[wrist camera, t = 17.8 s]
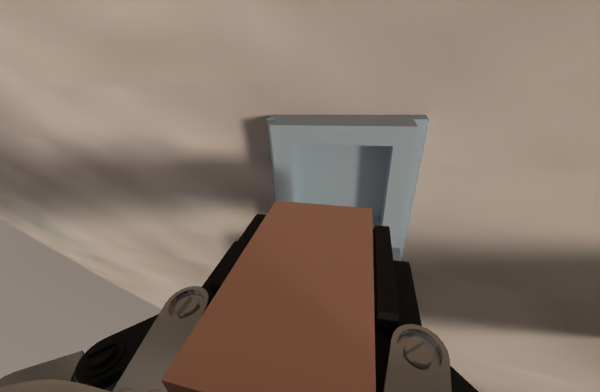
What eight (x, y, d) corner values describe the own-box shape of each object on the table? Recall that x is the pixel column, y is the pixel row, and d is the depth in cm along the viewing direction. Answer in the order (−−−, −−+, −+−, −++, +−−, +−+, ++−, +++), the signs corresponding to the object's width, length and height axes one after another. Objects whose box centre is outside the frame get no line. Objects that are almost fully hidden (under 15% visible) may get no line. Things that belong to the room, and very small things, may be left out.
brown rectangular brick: (275, 200, 11) (160, 380, 5) (372, 208, 10) (377, 441, 4) (282, 269, 13) (207, 457, 7) (364, 280, 12) (359, 510, 6)
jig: (271, 115, 16) (253, 127, 13) (425, 115, 14) (437, 129, 11) (293, 330, 27) (285, 358, 24) (381, 348, 25) (382, 381, 22)
